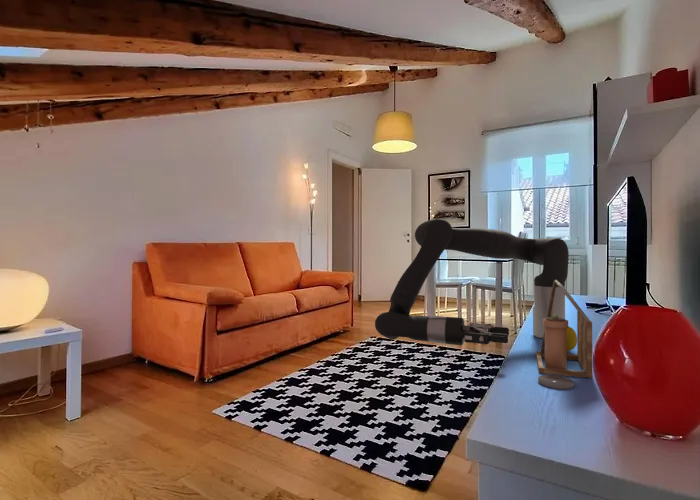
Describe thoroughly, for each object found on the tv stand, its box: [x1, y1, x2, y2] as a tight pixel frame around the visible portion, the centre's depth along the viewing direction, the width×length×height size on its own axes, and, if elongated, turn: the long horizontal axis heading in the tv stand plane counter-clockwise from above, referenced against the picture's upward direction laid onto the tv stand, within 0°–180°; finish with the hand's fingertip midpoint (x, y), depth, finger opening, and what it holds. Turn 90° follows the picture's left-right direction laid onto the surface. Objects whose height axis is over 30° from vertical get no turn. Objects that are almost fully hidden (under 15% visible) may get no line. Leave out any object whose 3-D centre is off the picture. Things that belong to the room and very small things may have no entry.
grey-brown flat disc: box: [537, 374, 575, 390], centre depth 85 cm, size 7×7×1 cm
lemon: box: [566, 325, 577, 353], centre depth 110 cm, size 6×6×8 cm
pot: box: [543, 314, 569, 370], centre depth 96 cm, size 6×6×14 cm
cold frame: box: [535, 280, 593, 379], centre depth 97 cm, size 16×11×21 cm
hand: (508, 335), depth 100 cm, fingers open, 8 cm apart
